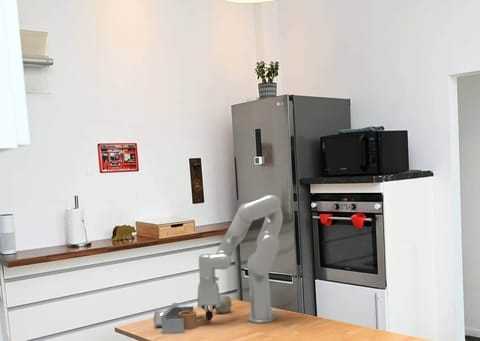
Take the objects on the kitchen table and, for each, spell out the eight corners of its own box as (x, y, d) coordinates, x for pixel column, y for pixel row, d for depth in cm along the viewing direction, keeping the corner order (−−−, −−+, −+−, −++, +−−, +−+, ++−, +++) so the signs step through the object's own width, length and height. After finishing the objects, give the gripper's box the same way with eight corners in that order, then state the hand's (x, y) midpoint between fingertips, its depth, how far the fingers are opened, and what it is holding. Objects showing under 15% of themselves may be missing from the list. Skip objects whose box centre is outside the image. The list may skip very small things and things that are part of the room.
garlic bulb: (231, 316, 249) (236, 297, 249) (223, 317, 241) (229, 298, 242) (216, 309, 253) (221, 291, 253) (208, 310, 245) (214, 291, 246)
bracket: (188, 331, 218) (187, 316, 219) (175, 329, 223) (174, 313, 224) (214, 321, 233) (213, 306, 233) (201, 319, 238) (200, 305, 238)
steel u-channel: (194, 318, 239) (193, 302, 240) (183, 332, 216) (182, 314, 216) (162, 319, 241) (161, 303, 241) (149, 334, 217) (148, 316, 217)
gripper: (224, 278, 230) (226, 317, 230) (193, 279, 232) (195, 318, 231) (222, 281, 223) (224, 321, 222) (190, 282, 224) (192, 322, 224)
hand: (209, 319), depth 227 cm, fingers closed
